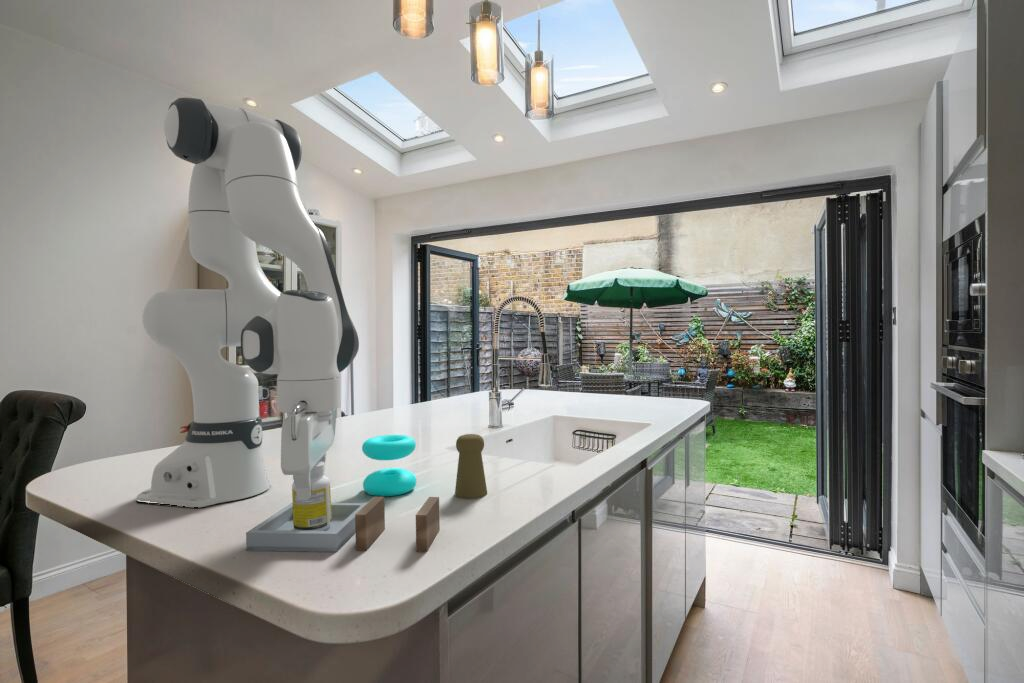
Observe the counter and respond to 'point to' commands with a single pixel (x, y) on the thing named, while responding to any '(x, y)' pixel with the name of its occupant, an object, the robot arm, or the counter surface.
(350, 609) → the counter surface
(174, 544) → the counter surface
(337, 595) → the counter surface
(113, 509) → the counter surface
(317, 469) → the supplement bottle
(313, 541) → the grey tray
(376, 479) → the donuts
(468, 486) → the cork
